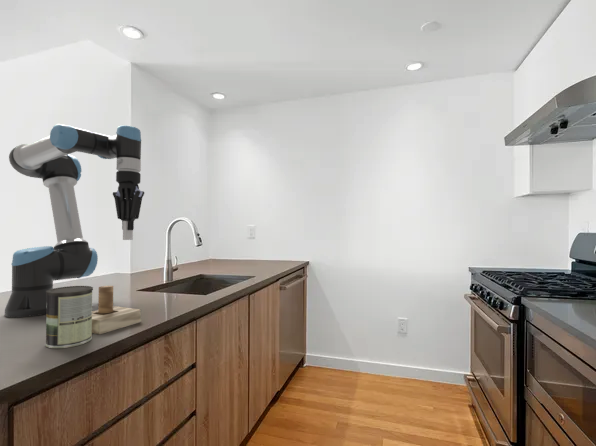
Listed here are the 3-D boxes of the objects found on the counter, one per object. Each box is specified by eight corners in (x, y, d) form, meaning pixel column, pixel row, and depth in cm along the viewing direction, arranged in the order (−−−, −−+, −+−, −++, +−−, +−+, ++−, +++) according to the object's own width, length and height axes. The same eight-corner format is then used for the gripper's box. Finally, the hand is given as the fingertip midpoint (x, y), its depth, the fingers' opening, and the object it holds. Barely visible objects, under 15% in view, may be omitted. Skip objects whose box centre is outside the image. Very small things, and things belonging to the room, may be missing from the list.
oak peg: (107, 322, 107) (107, 285, 107) (116, 324, 105) (116, 286, 105) (94, 326, 103) (95, 287, 103) (103, 327, 101) (104, 288, 101)
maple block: (72, 329, 99) (72, 315, 100) (115, 317, 112) (115, 306, 112) (99, 334, 95) (99, 320, 95) (140, 322, 107) (140, 309, 107)
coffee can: (35, 349, 83) (36, 292, 83) (61, 336, 93) (62, 285, 93) (78, 348, 84) (79, 292, 84) (99, 335, 94) (100, 285, 94)
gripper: (105, 171, 114) (104, 239, 114) (132, 168, 109) (131, 240, 109) (125, 174, 121) (124, 239, 121) (151, 172, 116) (150, 239, 115)
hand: (127, 239), depth 115 cm, fingers closed
